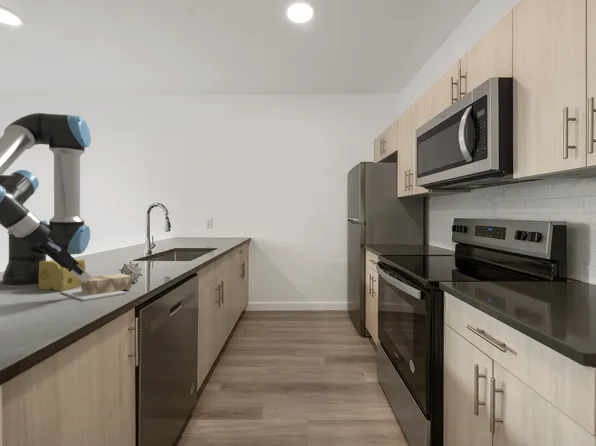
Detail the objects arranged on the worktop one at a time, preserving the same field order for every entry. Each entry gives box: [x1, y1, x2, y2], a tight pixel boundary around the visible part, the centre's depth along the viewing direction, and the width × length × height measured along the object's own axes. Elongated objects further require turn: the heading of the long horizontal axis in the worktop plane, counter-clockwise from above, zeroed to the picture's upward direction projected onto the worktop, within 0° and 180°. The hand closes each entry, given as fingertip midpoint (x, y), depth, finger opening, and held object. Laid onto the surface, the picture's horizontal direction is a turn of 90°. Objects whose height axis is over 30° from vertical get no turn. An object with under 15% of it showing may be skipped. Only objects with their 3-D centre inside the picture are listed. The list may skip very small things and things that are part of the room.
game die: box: [118, 261, 143, 282], centre depth 143 cm, size 9×8×10 cm
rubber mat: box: [60, 288, 127, 302], centre depth 123 cm, size 14×16×1 cm
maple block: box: [80, 273, 133, 295], centre depth 126 cm, size 4×7×14 cm
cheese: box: [38, 259, 86, 292], centre depth 131 cm, size 10×11×10 cm
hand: (87, 279), depth 120 cm, fingers closed
